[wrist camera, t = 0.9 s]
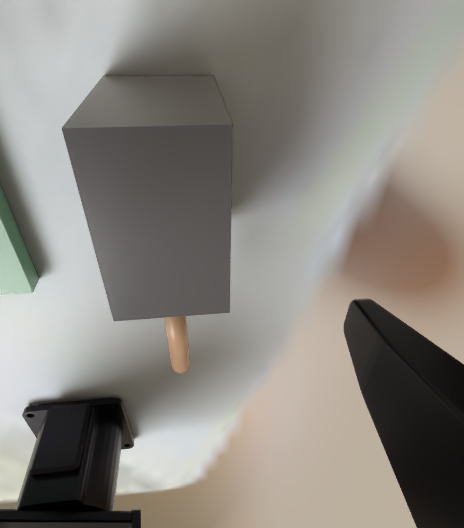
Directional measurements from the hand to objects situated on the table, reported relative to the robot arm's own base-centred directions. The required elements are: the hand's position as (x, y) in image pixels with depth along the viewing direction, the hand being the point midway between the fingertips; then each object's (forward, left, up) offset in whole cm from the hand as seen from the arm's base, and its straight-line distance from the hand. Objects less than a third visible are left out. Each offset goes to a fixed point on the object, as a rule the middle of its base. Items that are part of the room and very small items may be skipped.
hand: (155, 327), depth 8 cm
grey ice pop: (-2, 0, -9) cm, 10 cm away
